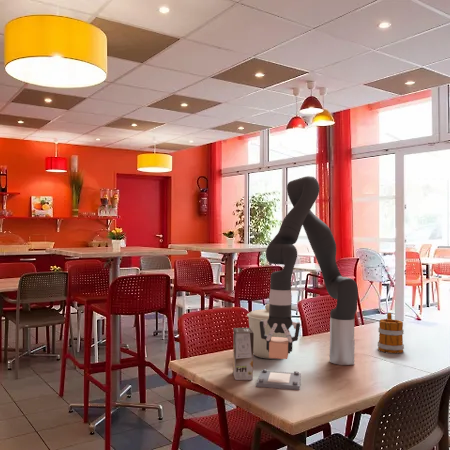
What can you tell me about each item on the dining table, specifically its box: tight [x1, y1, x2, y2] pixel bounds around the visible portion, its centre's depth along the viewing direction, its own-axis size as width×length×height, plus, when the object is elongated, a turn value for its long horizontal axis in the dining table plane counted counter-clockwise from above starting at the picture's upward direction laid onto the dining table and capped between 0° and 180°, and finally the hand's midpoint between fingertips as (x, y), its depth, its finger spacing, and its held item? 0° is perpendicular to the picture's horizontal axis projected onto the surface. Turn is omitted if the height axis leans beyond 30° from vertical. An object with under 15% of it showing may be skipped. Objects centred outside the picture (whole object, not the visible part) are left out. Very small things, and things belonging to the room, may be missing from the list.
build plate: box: [255, 368, 302, 391], centre depth 165 cm, size 14×14×2 cm
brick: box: [269, 337, 290, 360], centre depth 165 cm, size 6×9×5 cm, turn 168°
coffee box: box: [232, 327, 254, 381], centre depth 170 cm, size 9×6×16 cm
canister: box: [246, 303, 293, 360], centre depth 198 cm, size 18×18×21 cm
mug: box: [377, 312, 405, 354], centre depth 213 cm, size 11×16×15 cm, turn 166°
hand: (279, 352), depth 165 cm, fingers closed on brick, 6 cm apart
